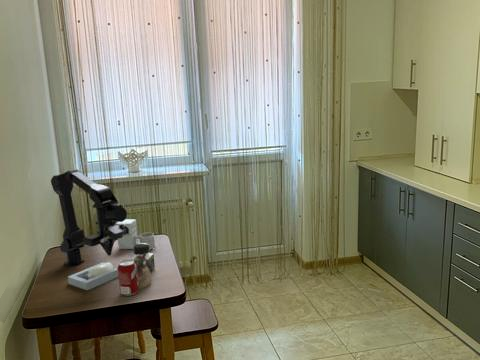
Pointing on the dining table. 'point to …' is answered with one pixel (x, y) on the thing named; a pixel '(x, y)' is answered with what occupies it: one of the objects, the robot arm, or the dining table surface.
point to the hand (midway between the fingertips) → (109, 255)
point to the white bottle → (98, 270)
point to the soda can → (128, 277)
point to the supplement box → (128, 239)
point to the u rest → (93, 282)
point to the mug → (146, 239)
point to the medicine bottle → (142, 249)
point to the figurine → (142, 271)
